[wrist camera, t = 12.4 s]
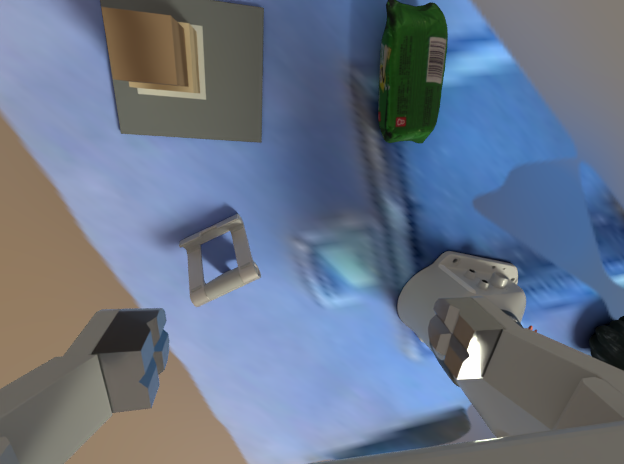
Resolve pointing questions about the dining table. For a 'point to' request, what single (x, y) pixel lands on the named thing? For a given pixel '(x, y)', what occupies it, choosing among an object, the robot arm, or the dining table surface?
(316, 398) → the dining table surface
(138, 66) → the walnut cube
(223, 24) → the mat
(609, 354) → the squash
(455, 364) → the robot arm
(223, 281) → the portable electronic device stand
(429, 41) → the snack package
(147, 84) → the oak base block
